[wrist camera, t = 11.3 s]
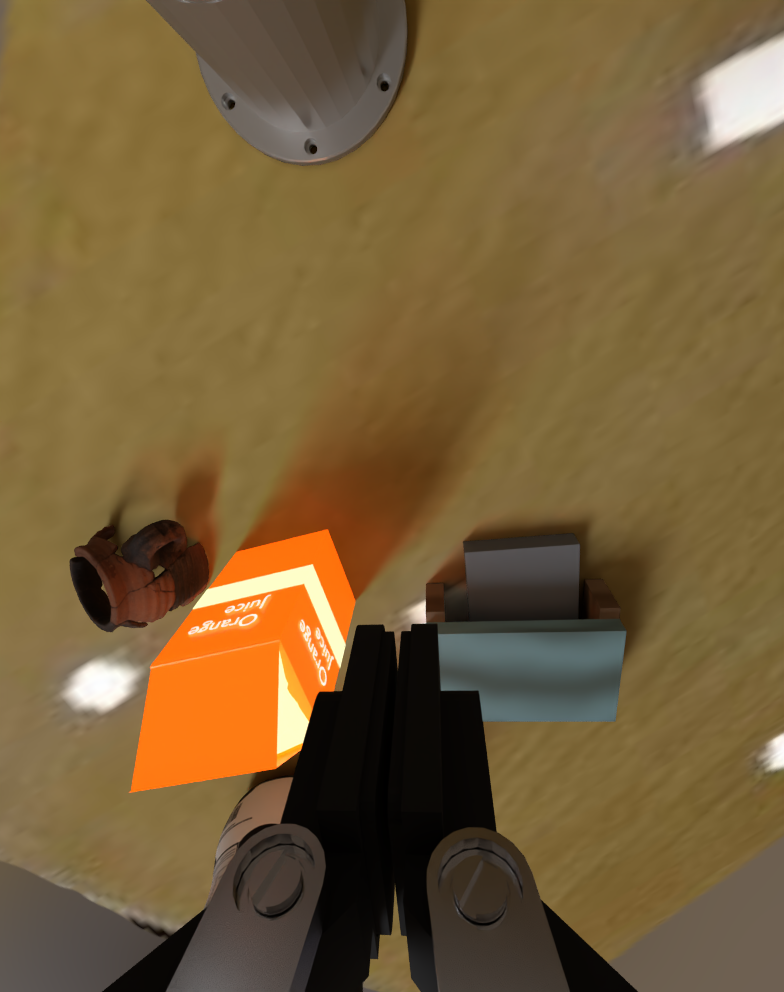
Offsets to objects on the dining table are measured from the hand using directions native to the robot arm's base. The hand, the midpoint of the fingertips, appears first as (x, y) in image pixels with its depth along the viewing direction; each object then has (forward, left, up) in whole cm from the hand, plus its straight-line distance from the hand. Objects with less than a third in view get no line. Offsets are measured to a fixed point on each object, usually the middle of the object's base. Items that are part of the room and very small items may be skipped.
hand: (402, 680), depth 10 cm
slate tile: (+19, +8, -30) cm, 36 cm away
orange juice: (+15, -12, -29) cm, 35 cm away
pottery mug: (+12, -24, -29) cm, 40 cm away
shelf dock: (+21, +7, -29) cm, 37 cm away
